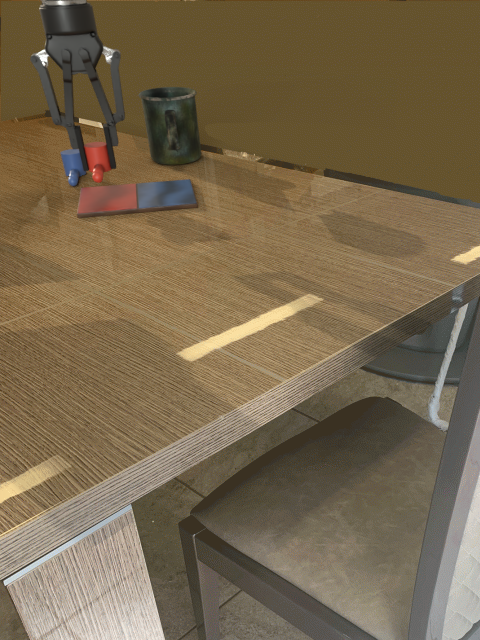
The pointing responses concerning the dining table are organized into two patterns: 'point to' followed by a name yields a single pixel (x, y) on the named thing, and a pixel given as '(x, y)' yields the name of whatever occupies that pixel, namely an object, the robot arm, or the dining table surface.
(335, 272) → the dining table surface
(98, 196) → the sorting board
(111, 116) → the robot arm
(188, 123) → the mug
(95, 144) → the red cylinder with knob
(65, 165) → the blue knobbed cylinder
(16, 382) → the dining table surface
